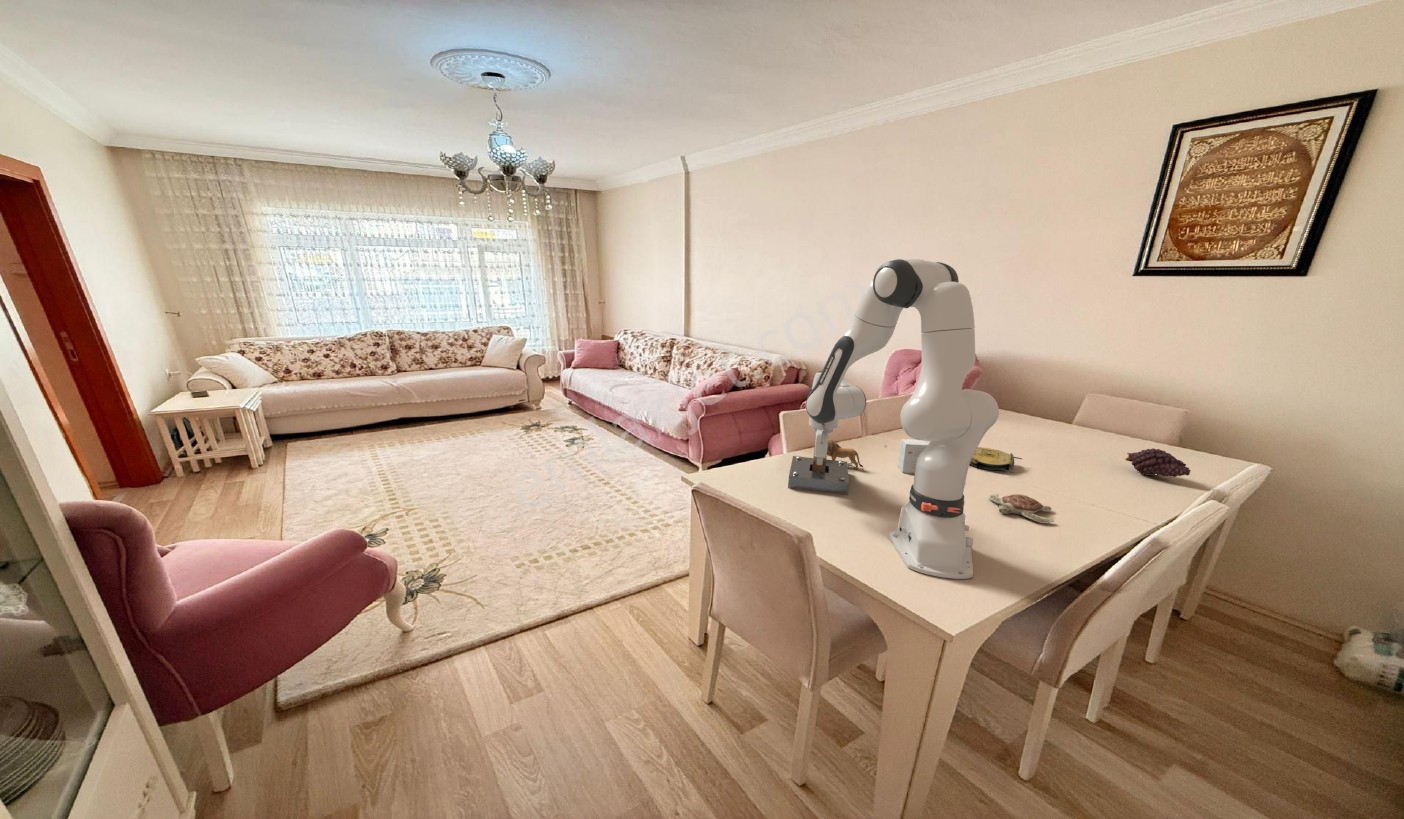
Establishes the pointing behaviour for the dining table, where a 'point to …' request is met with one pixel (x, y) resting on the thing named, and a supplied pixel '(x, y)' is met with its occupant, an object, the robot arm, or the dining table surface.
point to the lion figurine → (842, 453)
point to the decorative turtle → (1021, 506)
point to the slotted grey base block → (819, 476)
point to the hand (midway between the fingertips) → (819, 461)
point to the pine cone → (1157, 463)
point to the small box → (910, 454)
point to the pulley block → (992, 460)
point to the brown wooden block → (818, 467)
